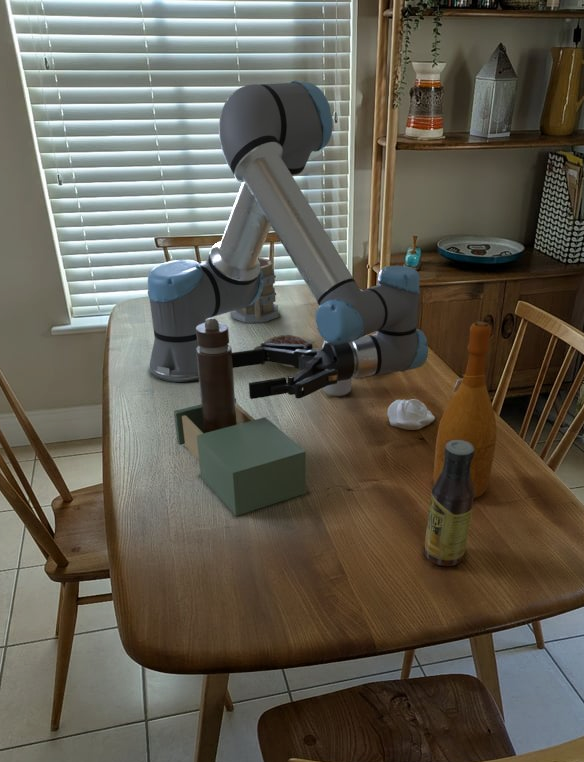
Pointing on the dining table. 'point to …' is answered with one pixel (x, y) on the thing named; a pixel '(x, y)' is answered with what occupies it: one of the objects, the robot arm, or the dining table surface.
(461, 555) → the sauce bottle
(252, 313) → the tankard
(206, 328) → the pepper mill
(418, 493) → the dining table surface
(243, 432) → the cabinet
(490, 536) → the dining table surface
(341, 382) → the beverage can
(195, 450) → the drawer
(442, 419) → the wine bottle
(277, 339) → the decorative turtle
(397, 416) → the rose
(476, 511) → the dining table surface
